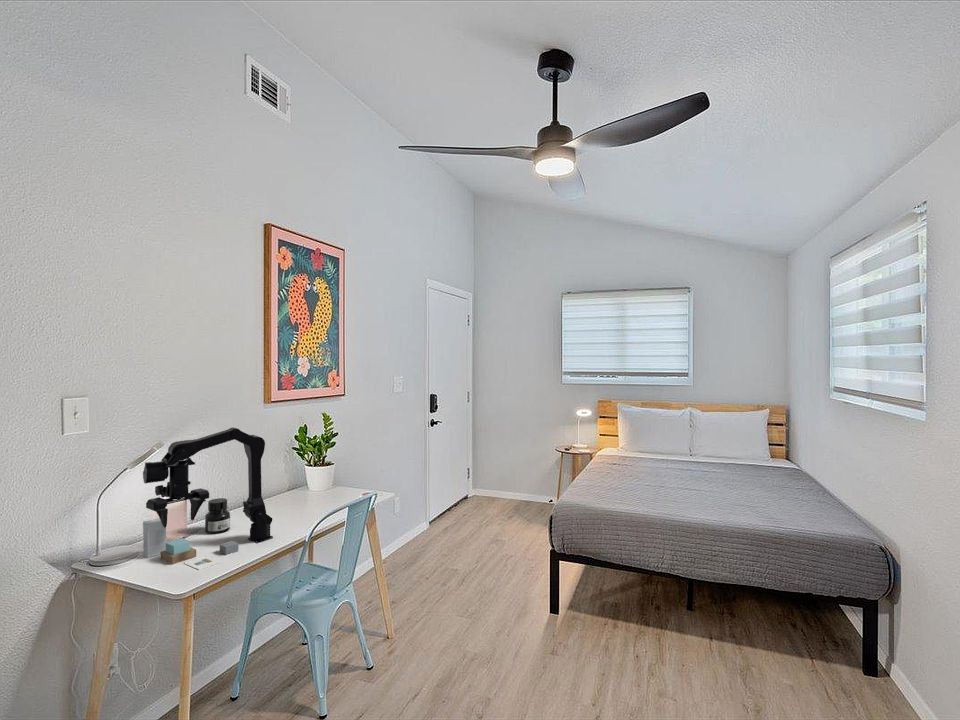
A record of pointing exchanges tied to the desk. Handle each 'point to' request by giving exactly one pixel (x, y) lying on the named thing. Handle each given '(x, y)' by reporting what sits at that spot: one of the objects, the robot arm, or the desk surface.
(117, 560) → the desk surface
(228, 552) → the grey block
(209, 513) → the ink bottle
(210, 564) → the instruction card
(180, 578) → the desk surface
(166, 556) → the base block
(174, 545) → the teal block
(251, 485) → the robot arm
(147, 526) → the skincare box
